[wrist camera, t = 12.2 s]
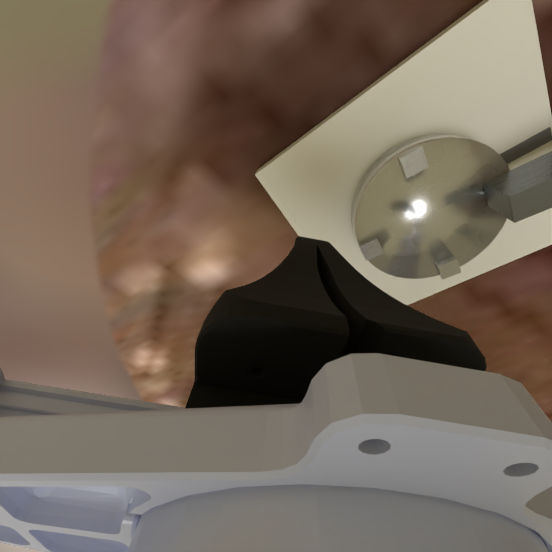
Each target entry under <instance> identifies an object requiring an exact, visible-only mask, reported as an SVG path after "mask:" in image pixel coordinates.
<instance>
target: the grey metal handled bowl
mask: <svg viewBox="0 0 552 552" xmlns="http://www.w3.org/2000/svg"><path fill="white" fill-rule="evenodd" d="M550 208H552V151H551V152H548V153H546V154H544V155H542V156H540V157H538V158H536V159H534V160H531V161H529V162H527V163H525V164H523V165H521V166H519V167H517V168H514V169H512V170H510V169H509V167H508V165H507V163H506V162H505V160H504V159H503V158H502V156H501V155H500V154H498V153H497V152H496V151H495V150H494V149H492V148H491V147H489V146H487V145H486V144H483V143H480V142H478V141H475V140H471V139H468V138H464V137H460V136H456V135H451V134H440V133H437V134H427V135H423V136H418V137H415V138H412V139H409V140H407V141H405V142H403V143H401V144H399V145H397V146H395V147H394V148H392V149H390V150H389V151H387V152H386V153H385V154H384V155H382V156H381V157H380V158H379V159H378V160H377V161H376V162H375V163H374V164H373V165H372V166H371V167H370V168H369V170H368V171H367V172H366V173H365V175H364V177H363V178H362V180H361V181H360V183H359V185H358V187H357V190H356V192H355V195H354V198H353V202H352V207H351V222H352V227H353V231H354V234H355V236H356V239H357V241H358V245H359V248H360V250H361V252H362V254H363V256H364V258H365V260H366V261H367V260H368V261H369V262H370V263H371V264H372V265H373V266H375V267H376V268H377V269H379V270H381V271H382V272H384V273H387V274H389V275H392V276H395V277H400V278H407V279H422V278H429V277H434V276H438V275H439V276H440V277H441V278H442V280H443V279H446V278H448V277H451V276H454V275H456V274H459V273H461V270H460V267H461V266H462V265H464V264H466V263H468V262H469V261H471V260H472V259H474V258H475V257H476V256H477V255H479V254H480V253H481V252H482V251H483V250H484V249H486V248H487V247H488V246H489V245H490V244H491V242H492V241H493V240H494V239H495V238H496V236H497V235H498V234H499V232H500V231H501V229H502V228H503V226H504V224H505V222H506V220H507V219H509V220H511V221H512V222H514V223H516V222H518V221H521V220H523V219H526V218H528V217H530V216H533V215H535V214H538V213H540V212H543V211H545V210H547V209H550Z"/></svg>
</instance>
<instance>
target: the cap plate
mask: <svg viewBox="0 0 552 552" xmlns="http://www.w3.org/2000/svg"><path fill="white" fill-rule="evenodd" d="M437 133H440V134H451V135H456V136H460V137H464V138H468V139H471V140H475V141H478V142H480V143H483V144H486V145H487V146H489V147H491V148H492V149H494V150H495V151H496V152H497V153H498V154H500V155H501V156H502V158H503V159H504V160H505V162H506V163H507V165H508V167H509V169H510V170H512V169H514V168H517V167H519V166H521V165H523V164H525V163H527V162H529V161H531V160H534V159H536V158H538V157H540V156H542V155H544V154H546V153H548V152H551V151H552V115H551V109H550V103H549V97H548V91H547V86H546V80H545V74H544V68H543V63H542V57H541V51H540V45H539V39H538V34H537V28H536V22H535V16H534V11H533V5H532V0H483V1H482V2H480V3H479V4H478V5H476V6H475V7H474V8H472V9H471V10H470V11H468V12H467V13H466V14H464V15H463V16H462V17H460V18H459V19H458V20H456V21H455V22H454V23H452V24H451V25H450V26H448V27H447V28H446V29H444V30H443V31H442V32H440V33H439V34H438V35H436V36H435V37H434V38H432V39H431V40H430V41H428V42H427V43H426V44H424V45H423V46H422V47H420V48H419V49H418V50H416V51H415V52H414V53H412V54H411V55H410V56H408V57H407V58H406V59H404V60H403V61H402V62H400V63H399V64H398V65H396V66H395V67H394V68H392V69H391V70H390V71H388V72H387V73H386V74H384V75H383V76H382V77H380V78H379V79H378V80H376V81H375V82H374V83H372V84H371V85H370V86H368V87H367V88H366V89H364V90H363V91H362V92H360V93H359V94H358V95H356V96H355V97H354V98H352V99H351V100H350V101H348V102H347V103H346V104H344V105H343V106H342V107H340V108H339V109H338V110H336V111H335V112H334V113H332V114H331V115H330V116H328V117H327V118H326V119H324V120H323V121H322V122H320V123H319V124H318V125H316V126H315V127H314V128H312V129H311V130H310V131H308V132H307V133H306V134H304V135H303V136H302V137H300V138H299V139H298V140H296V141H295V142H294V143H292V144H291V145H290V146H288V147H287V148H286V149H284V150H283V151H282V152H280V153H279V154H278V155H276V156H275V157H274V158H272V159H271V160H270V161H268V162H267V163H266V164H264V165H263V166H262V167H260V168H259V169H258V170H257V172H256V174H255V176H256V177H257V178H258V180H259V181H260V183H261V184H262V185H263V187H264V188H265V190H266V191H267V192H268V194H269V195H270V197H271V198H272V199H273V201H274V202H275V204H276V205H277V206H278V208H279V209H280V211H281V212H282V213H283V215H284V216H285V218H286V219H287V220H288V222H289V223H290V225H291V226H292V227H293V229H294V230H295V232H296V233H297V234H298V236H301V237H306V238H312V239H317V240H323V241H328V242H329V243H330V244H332V245H333V247H334V248H335V249H336V250H337V251H338V252H339V253H340V254H341V255H342V256H343V257H344V258H345V259H346V260H347V261H348V262H349V263H350V264H351V265H352V266H353V267H354V268H355V269H356V270H357V271H358V272H359V273H360V274H362V275H363V276H364V277H365V278H366V279H367V280H369V281H370V282H371V283H373V284H374V285H375V286H377V287H378V288H379V289H381V290H382V291H384V292H385V293H387V294H388V295H390V296H392V297H393V298H395V299H397V300H398V301H400V302H402V303H403V304H405V305H409V304H411V303H414V302H416V301H418V300H421V299H423V298H426V297H428V296H430V295H433V294H435V293H437V292H440V291H442V290H445V289H447V288H449V287H452V286H454V285H456V284H459V283H461V282H464V281H466V280H468V279H471V278H473V277H475V276H478V275H480V274H483V273H485V272H487V271H490V270H492V269H494V268H497V267H499V266H502V265H504V264H506V263H509V262H511V261H513V260H516V259H518V258H521V257H523V256H525V255H528V254H530V253H532V252H535V251H537V250H540V249H542V248H544V247H547V246H549V245H552V208H550V209H547V210H545V211H543V212H540V213H538V214H535V215H533V216H530V217H528V218H526V219H523V220H521V221H518V222H516V223H514V222H512V221H511V220H509V219H507V220H506V222H505V224H504V226H503V228H502V229H501V231H500V232H499V234H498V235H497V236H496V238H495V239H494V240H493V241H492V242H491V244H490V245H489V246H488V247H487V248H486V249H484V250H483V251H482V252H481V253H480V254H479V255H477V256H476V257H475V258H474V259H472V260H471V261H469V262H468V263H466V264H464V265H462V266H461V267H460V270H461V273H459V274H456V275H454V276H451V277H448V278H446V279H443V280H442V278H441V277H440V276H439V275H438V276H434V277H429V278H422V279H407V278H400V277H395V276H392V275H389V274H387V273H384V272H382V271H381V270H379V269H377V268H376V267H375V266H373V265H372V264H371V263H370V262H369V261H368V260H367V261H366V260H365V258H364V256H363V254H362V252H361V250H360V248H359V245H358V241H357V239H356V236H355V234H354V231H353V227H352V222H351V207H352V202H353V198H354V195H355V192H356V190H357V187H358V185H359V183H360V181H361V180H362V178H363V177H364V175H365V173H366V172H367V171H368V170H369V168H370V167H371V166H372V165H373V164H374V163H375V162H376V161H377V160H378V159H379V158H380V157H381V156H382V155H384V154H385V153H386V152H387V151H389V150H390V149H392V148H394V147H395V146H397V145H399V144H401V143H403V142H405V141H407V140H409V139H412V138H415V137H418V136H423V135H427V134H437Z"/></svg>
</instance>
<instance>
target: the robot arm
mask: <svg viewBox="0 0 552 552" xmlns="http://www.w3.org/2000/svg"><path fill="white" fill-rule="evenodd" d="M0 543H5V544H9V545H14V546H20V547H24V548H29V549H34V550H38V551H43V552H552V422H551V421H550V420H549V418H548V417H547V416H546V415H545V413H544V412H543V411H542V409H541V408H540V407H539V405H538V404H537V403H536V402H535V400H534V399H533V398H532V396H531V395H530V394H529V392H528V391H527V390H526V388H525V387H524V386H523V385H522V383H520V382H518V381H515V380H513V379H511V378H508V377H506V376H503V375H501V374H497V373H492V372H486V362H485V357H484V356H483V355H482V353H481V352H480V350H479V349H478V347H477V346H476V344H475V343H474V341H473V340H472V338H471V337H470V336H469V334H468V333H467V332H466V331H463V330H461V329H458V328H456V327H453V326H451V325H448V324H446V323H443V322H441V321H438V320H436V319H433V318H431V317H429V316H427V315H425V314H423V313H421V312H419V311H417V310H415V309H413V308H411V307H409V306H407V305H405V304H403V303H402V302H400V301H398V300H397V299H395V298H393V297H392V296H390V295H388V294H387V293H385V292H384V291H382V290H381V289H379V288H378V287H377V286H375V285H374V284H373V283H371V282H370V281H369V280H367V279H366V278H365V277H364V276H363V275H362V274H360V273H359V272H358V271H357V270H356V269H355V268H354V267H353V266H352V265H351V264H350V263H349V262H348V261H347V260H346V259H345V258H344V257H343V256H342V255H341V254H340V253H339V252H338V251H337V250H336V249H335V248H334V247H333V245H332V244H330V243H329V242H328V241H323V240H317V239H312V238H306V237H301V236H299V237H297V238H296V241H295V245H294V247H293V249H292V250H291V252H290V253H289V255H288V256H287V257H286V258H285V259H284V260H283V262H282V263H281V264H280V265H279V266H278V267H276V268H275V269H274V270H273V271H272V272H270V273H269V274H267V275H266V276H264V277H263V278H261V279H259V280H257V281H255V282H253V283H250V284H248V285H245V286H241V287H237V288H234V289H230V290H226V291H225V292H224V293H223V294H222V295H221V297H220V298H219V299H218V301H217V302H216V303H215V305H214V306H213V308H212V309H211V311H210V313H209V314H208V316H207V318H206V319H205V321H204V323H203V326H202V328H201V331H200V333H199V335H198V338H197V342H196V347H195V382H194V385H193V388H192V391H191V394H190V396H189V399H188V402H187V405H186V408H183V407H177V406H170V405H164V404H158V403H151V402H145V401H139V400H132V399H126V398H120V397H113V396H107V395H101V394H94V393H88V392H82V391H75V390H69V389H63V388H56V387H50V386H43V385H37V384H30V383H25V382H18V381H12V380H6V379H5V378H4V374H3V372H2V370H1V368H0Z"/></svg>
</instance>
